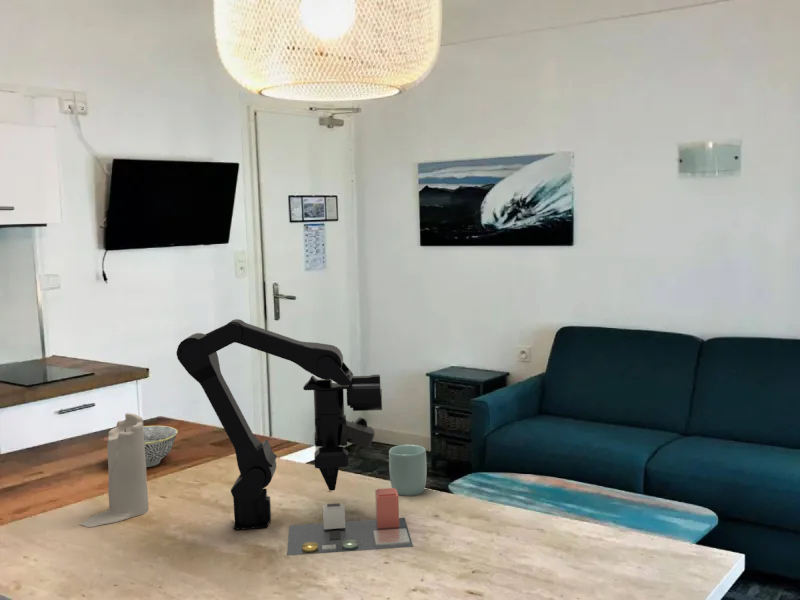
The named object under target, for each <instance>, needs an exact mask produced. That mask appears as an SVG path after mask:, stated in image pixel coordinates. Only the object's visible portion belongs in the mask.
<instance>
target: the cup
mask: <svg viewBox="0 0 800 600" xmlns="http://www.w3.org/2000/svg"><path fill="white" fill-rule="evenodd" d="M388 470H389V479H390V480H389V481H390V486H391V487H390V488H394V489H396V490H397V493H398V496H417V495H420V494H422V493H424V491H425V488H426V484H427V450H426V448H425V447H424V446H422V445H417V444H400V445H395V446H392V447H390V449H389V450H388Z"/></svg>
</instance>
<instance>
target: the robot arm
mask: <svg viewBox="0 0 800 600" xmlns="http://www.w3.org/2000/svg"><path fill="white" fill-rule="evenodd" d="M234 343H236V344H239V345H243V346H246V347H248V348H250V349H254V350H257V351H260V352H263V353H267V354H269V355H271V356H275V357H277V358H281V359H284V360H287V361H290V362H293V363H294V364H295V365H297V366H299V367H300V368H301V369H303V370H304V371H306V372H308V373H309V374H311V376H310V378H309V380H308V381H307V382H306V383H305V384H304V385H303V388H302V389H303V391H313V403H314V404H313V405H314V409H313V410H314V445H315V447H318V449H317V450H315V452H314V469H319V471H320V473H321V476H322V477H323V478H322V479H323V480H324V482H325V484H326V486H327V489H328V491H335V490H336V488H337V487H336V486H337V480H338V476H339V470H340V468H347V467H349V451H348V450H347V449H346V448H345V447H344V446H346V447H347V446H348V443H349V444H353V445H356V446H359V447H362V448H363V449H365V450H366V449H367V450H370V448H371V445H372V443H373V440H374V438H375V430H374V428H373V427H372V426H368V421H367V419H366V418H363V417H360V416H359V417H358V418H357V419H356V420H355V421H348V420H347V417H346V416H347V415H346V414H345V400H344V398H345V397H344V396H345V395H344V393H345V392H344V390H346V404H347V405H346V406H348V407H349V408H350V409H352V411H353V412H358V411H359V412H360V411H362V412H363V411H365V412H366V411H383V389H382V388H381V387H382V385H381V374H370V375H356V376H355V375H354V373H353V372H352V370H351V369H350V368H349V367H348V366H347V364H346V363H345V362H344V355H343V354H342V351H341V349H339V348H338V347H337V346H335V345H332V344H327V343H320V342H311V341H310V342H309V341H308V342H307V341H301V340H297V339H294V338H291V337H288V336H285V335H282V334H279V333H277V332H273V331H270V330H267V329H265V328H262V327H259V326H255V325H254V324H251V323H247V322H245V321H243V320H242V319H238V318H236V319H232V320H231V321H229V322H228V323H226V324H224V325H222V326H220V327H218V328H216V329H213V330H210V331H209V332H207V333H202V332H196V333H193V334H191V335H190V336H188V337H187V338H184V339H183V340H181V341H180V342H179V343H178V345H177V349H176V358H177V360H178V362H179V363H180V365H182V367H183V368H184V370H185V371H186V372H187V373H188V374H189V376H191V377H192V378H193V379H194V380H195V381H196V382H198V383H199V386H201V388H202V390H203V392H204V393H205V395H206V397H207V400H208V401H209V404H211V405H210V406H211V407H212V408H213V411H214V412H215V415H216V416H217V418H218V420H219V421H220V424H221V425H222V428H223V429H224V431H225V433H226V436H228V439H229V440H230V443H231V444H232V447H233V448H234V452H235V457H236V462H237V463H236V464H237V468H238V470H239V475H238V477H237V478H236V480H235V482H234V484H233V485H232V487H231V489H230V493H231V496H232V498H233V500H232V501H233V513H234V514H233V518H234V519H233V520H234V521H233V522H234V524H233V527H232V528H233V530H249V529H263V528H267V527H269V522H270V521H271V520H272V519H271V518H272V510H271V509H272V507H271V496H268V488H266V487H268V486H269V484H270V483H271V482H272V479H273V477H274V474H275V472H276V470H277V461H276V460H277V457H278V455H277V454H276V453H275V452H274V451H273V450H272V447H271V445H270V442H269V439H265V440H264V441H263V442H261V441H260V440H259V439H258V438H257V437H256V436H255V435H254V433H253V431H252V430H251V427H250V426H249V424H248V422H247V420H246V418H245V416H244V415H243V412H242V411H241V409H240V407H239V405H238V403H237V400H236V399H235V397H234V395H233V394H232V391H231V390H230V387H229V385H228V383H227V382H226V380H225V378H224V376H223V374H222V372H221V367H220V366H221V365H220V361H219V356H218V351H220V350H222V349H224V348H225V347H228V346H230V345H232V344H234ZM318 378H319V379H318Z"/></svg>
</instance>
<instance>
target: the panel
mask: <svg viewBox="0 0 800 600" xmlns="http://www.w3.org/2000/svg"><path fill="white" fill-rule="evenodd" d="M413 547H414V545H413V541H412V537H411V534H410V531H409V527H408V524H407V521H406V518H405V517H399V527H390V528H378V526H377V521H376V519H367V520H363V519H362V520H349V521H347V520H345V528H337V529H324V522H321V523H320V522H319V523H304V524H303V523H302V524H289V526H288V538H287V547H286V548H287V549H286V556H289V557H290V556H300V555H301V556H303V555H313V554H314V555H315V554H317V555H318V554H329V553H342V552H343V553H346V552H359V551H360V552H361V551H372V550H375V551H376V550H384V549H385V550H387V549H401V548H403V549H404V548H413Z"/></svg>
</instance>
